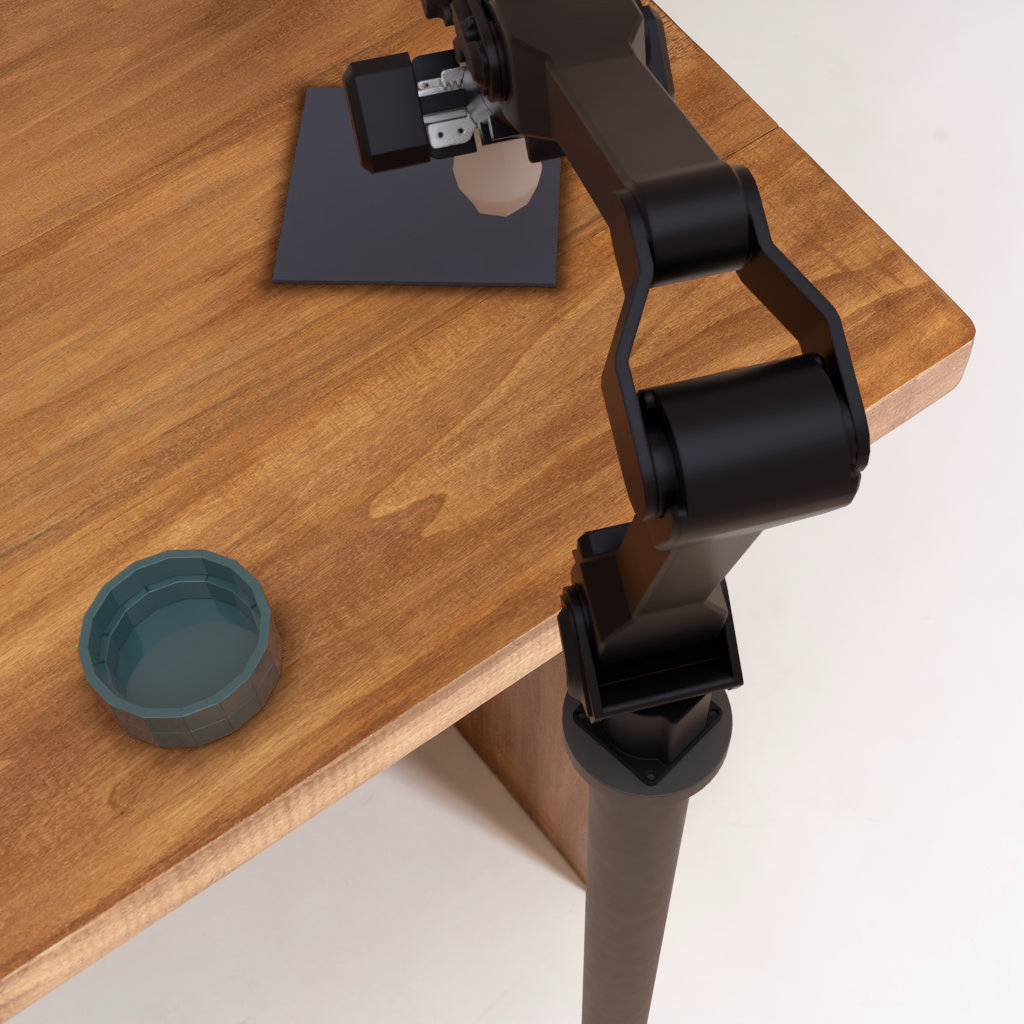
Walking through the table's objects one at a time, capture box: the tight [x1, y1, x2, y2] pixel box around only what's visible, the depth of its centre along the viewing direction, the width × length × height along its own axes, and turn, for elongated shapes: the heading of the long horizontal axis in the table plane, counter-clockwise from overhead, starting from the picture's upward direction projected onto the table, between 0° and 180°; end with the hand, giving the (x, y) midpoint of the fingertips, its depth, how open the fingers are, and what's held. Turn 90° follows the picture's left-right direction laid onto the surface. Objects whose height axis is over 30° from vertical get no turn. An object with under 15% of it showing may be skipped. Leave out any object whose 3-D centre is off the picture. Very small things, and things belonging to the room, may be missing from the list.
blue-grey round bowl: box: [77, 548, 283, 748], centre depth 83 cm, size 11×11×4 cm
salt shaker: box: [453, 62, 542, 217], centre depth 91 cm, size 6×6×13 cm
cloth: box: [271, 87, 562, 288], centre depth 106 cm, size 20×20×1 cm
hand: (490, 104), depth 91 cm, fingers closed on salt shaker, 3 cm apart
